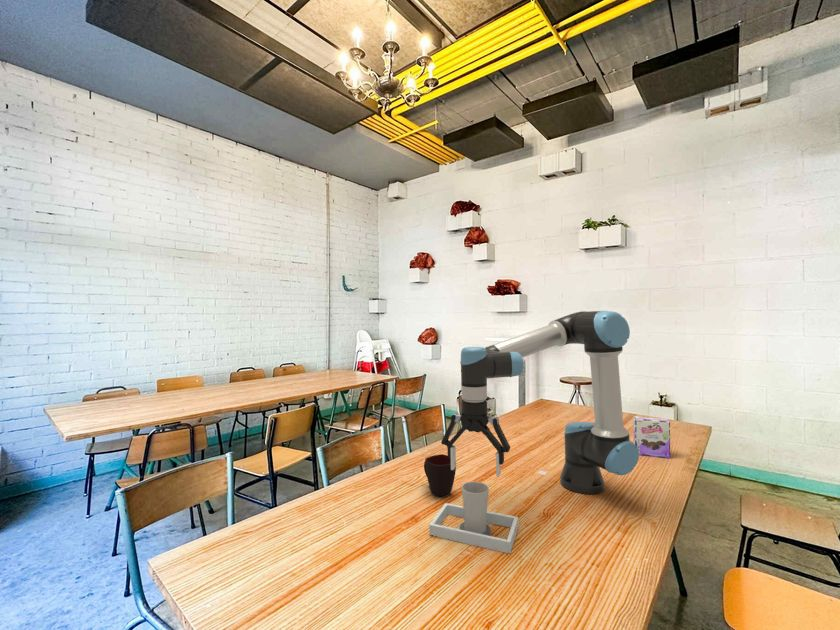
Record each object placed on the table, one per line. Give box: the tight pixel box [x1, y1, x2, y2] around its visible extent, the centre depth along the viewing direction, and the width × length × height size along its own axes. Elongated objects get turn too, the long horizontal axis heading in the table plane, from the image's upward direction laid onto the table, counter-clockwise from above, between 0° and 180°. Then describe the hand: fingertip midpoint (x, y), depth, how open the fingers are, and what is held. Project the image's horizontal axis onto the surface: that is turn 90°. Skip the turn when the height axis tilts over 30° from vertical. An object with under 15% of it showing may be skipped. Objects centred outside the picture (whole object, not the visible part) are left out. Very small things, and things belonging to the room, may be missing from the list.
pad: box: [459, 521, 492, 536], centre depth 114 cm, size 9×9×1 cm
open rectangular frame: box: [428, 502, 519, 555], centre depth 113 cm, size 23×14×3 cm, turn 67°
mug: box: [423, 454, 457, 499], centre depth 139 cm, size 10×14×12 cm
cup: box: [461, 481, 490, 534], centre depth 114 cm, size 8×8×12 cm
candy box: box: [632, 415, 671, 459], centre depth 175 cm, size 14×6×16 cm, turn 68°
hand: (475, 471), depth 114 cm, fingers open, 13 cm apart
